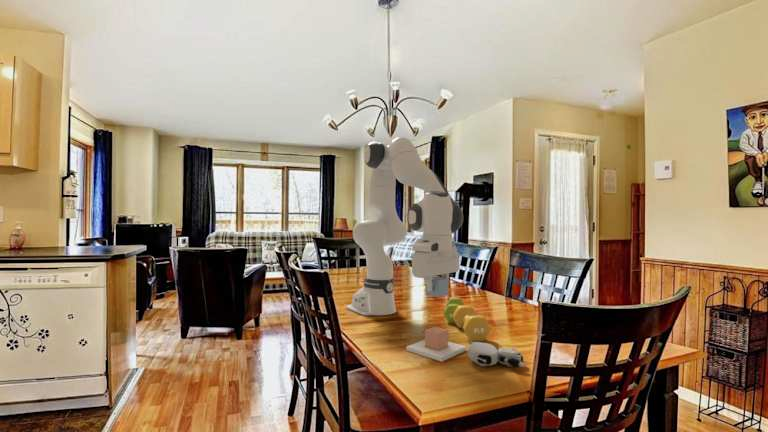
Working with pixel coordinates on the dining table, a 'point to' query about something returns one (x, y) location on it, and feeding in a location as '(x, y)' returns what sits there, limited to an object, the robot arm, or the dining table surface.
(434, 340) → the brick terracotta
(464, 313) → the dumbbell
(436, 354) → the plate
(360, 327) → the dining table surface
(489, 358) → the robot toy
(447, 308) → the dumbbell
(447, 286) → the brick blue
